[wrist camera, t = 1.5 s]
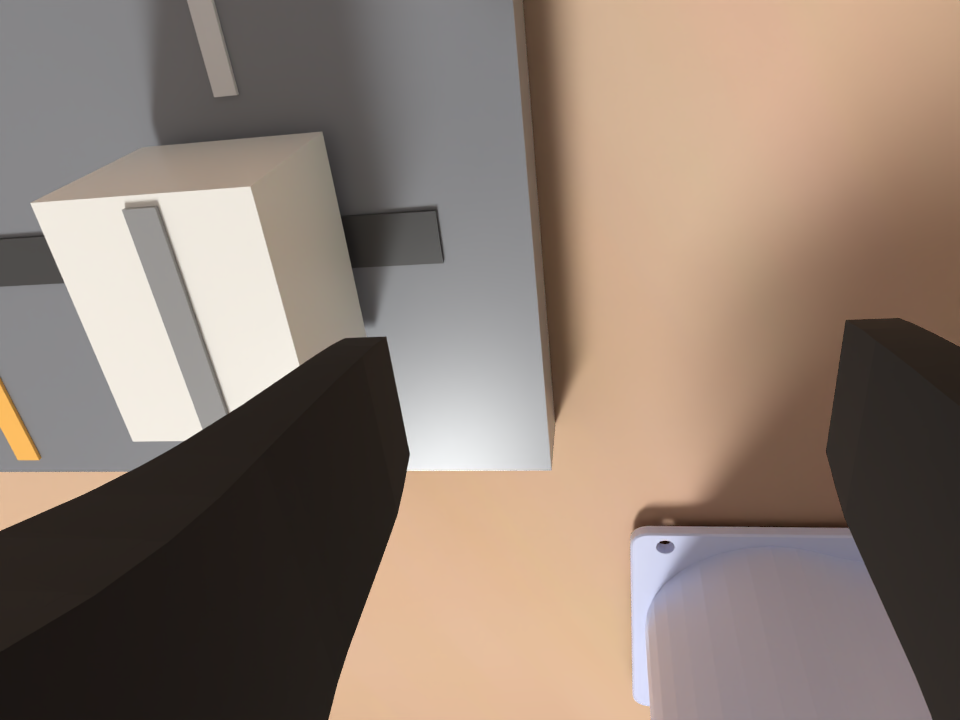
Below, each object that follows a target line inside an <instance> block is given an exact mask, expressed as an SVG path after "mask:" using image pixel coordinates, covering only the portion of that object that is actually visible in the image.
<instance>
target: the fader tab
mask: <svg viewBox="0 0 960 720" xmlns="http://www.w3.org/2000/svg"><path fill="white" fill-rule="evenodd" d="M30 204H31V206H32V208H33V211H34V213H35V215H36V218H37V220H38V222H39V225H40V227H41V229H42V232H43V234H44V236H45V239H46V241H47V243H48V246H49V248H50V250H51V252H52V255H53V257H54V259H55V262H56V264H57V266H58V269H59V271H60V273H61V276H62V278H63V280H64V283H65V285H66V287H67V290H68V292H69V294H70V297H71V299H72V301H73V304H74V306H75V308H76V311H77V313H78V315H79V318H80V320H81V322H82V325H83V327H84V329H85V331H86V334H87V336H88V338H89V341H90V343H91V345H92V348H93V350H94V352H95V355H96V357H97V359H98V362H99V364H100V366H101V369H102V371H103V373H104V376H105V378H106V380H107V383H108V385H109V387H110V390H111V392H112V394H113V397H114V399H115V401H116V404H117V406H118V408H119V410H120V413H121V415H122V417H123V420H124V422H125V424H126V427H127V429H128V431H129V434H130V436H131V438H132V441H133V442H144V441H185V440H187V439H188V438H190V437H191V436H193V435H195V434H196V433H198V432H199V431H201V430H203V429H204V428H206V427H207V426H209V425H211V424H212V423H214V422H215V421H217V420H219V419H220V418H222V417H223V416H225V415H227V414H228V413H230V412H232V411H233V410H235V409H236V408H238V407H240V406H241V405H243V404H244V403H246V402H247V401H249V400H250V399H251V398H253V397H254V396H256V395H257V394H259V393H260V392H262V391H263V390H265V389H266V388H268V387H269V386H271V385H272V384H274V383H275V382H276V381H278V380H279V379H281V378H282V377H284V376H285V375H287V374H288V373H290V372H291V371H293V370H294V369H296V368H297V367H298V366H300V365H301V364H303V363H304V362H306V361H307V360H309V359H310V358H312V357H313V356H315V355H316V354H318V353H319V352H321V351H323V350H324V349H326V348H327V347H329V346H331V345H332V344H334V343H336V342H338V341H340V340H342V339H344V338H358V337H367V336H366V332H365V327H364V322H363V318H362V313H361V308H360V304H359V299H358V295H357V290H356V285H355V281H354V276H353V271H352V267H351V262H350V257H349V253H348V248H347V244H346V239H345V234H344V230H343V225H342V220H341V216H340V211H339V207H338V202H337V197H336V193H335V188H334V183H333V179H332V174H331V170H330V165H329V160H328V156H327V151H326V146H325V142H324V137H323V132H311V133H300V134H288V135H277V136H265V137H254V138H242V139H231V140H220V141H208V142H197V143H185V144H174V145H162V146H151V147H142V148H140V149H138V150H136V151H134V152H132V153H130V154H128V155H126V156H124V157H122V158H120V159H118V160H116V161H114V162H112V163H110V164H108V165H106V166H104V167H102V168H100V169H98V170H96V171H94V172H92V173H90V174H88V175H86V176H84V177H82V178H80V179H78V180H75V181H73V182H71V183H69V184H67V185H65V186H63V187H61V188H59V189H57V190H55V191H53V192H51V193H49V194H47V195H45V196H43V197H41V198H39V199H37V200H35V201H33V202H31V203H30Z"/></svg>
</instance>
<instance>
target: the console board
mask: <svg viewBox="0 0 960 720" xmlns="http://www.w3.org/2000/svg"><path fill="white" fill-rule="evenodd" d="M311 132H323V137H324V142H325V146H326V151H327V156H328V160H329V165H330V170H331V174H332V179H333V183H334V188H335V193H336V197H337V202H338V207H339V211H340V216H341V220H342V225H343V230H344V234H345V239H346V244H347V248H348V253H349V257H350V262H351V267H352V271H353V276H354V281H355V285H356V290H357V295H358V299H359V304H360V308H361V313H362V318H363V322H364V327H365V332H366V336H367V337H387V342H388V347H389V352H390V357H391V362H392V367H393V372H394V377H395V382H396V387H397V392H398V397H399V402H400V407H401V412H402V417H403V422H404V427H405V432H406V437H407V442H408V447H409V452H410V457H409V462H408V467H407V471H530V470H552V458H553V446H554V434H555V415H554V402H553V389H552V375H551V362H550V349H549V336H548V323H547V310H546V297H545V283H544V270H543V257H542V244H541V231H540V218H539V204H538V191H537V178H536V165H535V152H534V139H533V125H532V112H531V99H530V86H529V73H528V60H527V46H526V33H525V20H524V7H523V0H0V472H129V471H131V470H133V469H135V468H137V467H139V466H141V465H143V464H145V463H147V462H148V461H150V460H152V459H154V458H156V457H158V456H159V455H161V454H163V453H165V452H166V451H168V450H170V449H172V448H173V447H175V446H177V445H179V444H180V443H182V442H183V441H144V442H133V441H132V438H131V436H130V434H129V431H128V429H127V427H126V424H125V422H124V420H123V417H122V415H121V413H120V410H119V408H118V406H117V404H116V401H115V399H114V397H113V394H112V392H111V390H110V387H109V385H108V383H107V380H106V378H105V376H104V373H103V371H102V369H101V366H100V364H99V362H98V359H97V357H96V355H95V352H94V350H93V348H92V345H91V343H90V341H89V338H88V336H87V334H86V331H85V329H84V327H83V325H82V322H81V320H80V318H79V315H78V313H77V311H76V308H75V306H74V304H73V301H72V299H71V297H70V294H69V292H68V290H67V287H66V285H65V283H64V280H63V278H62V276H61V273H60V271H59V269H58V266H57V264H56V262H55V259H54V257H53V255H52V252H51V250H50V248H49V246H48V243H47V241H46V239H45V236H44V234H43V232H42V229H41V227H40V225H39V222H38V220H37V218H36V215H35V213H34V211H33V208H32V206H31V204H30V203H31V202H33V201H35V200H37V199H39V198H41V197H43V196H45V195H47V194H49V193H51V192H53V191H55V190H57V189H59V188H61V187H63V186H65V185H67V184H69V183H71V182H73V181H75V180H78V179H80V178H82V177H84V176H86V175H88V174H90V173H92V172H94V171H96V170H98V169H100V168H102V167H104V166H106V165H108V164H110V163H112V162H114V161H116V160H118V159H120V158H122V157H124V156H126V155H128V154H130V153H132V152H134V151H136V150H138V149H140V148H142V147H151V146H162V145H174V144H185V143H197V142H208V141H220V140H231V139H242V138H254V137H265V136H277V135H288V134H300V133H311Z"/></svg>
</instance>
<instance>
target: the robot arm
mask: <svg viewBox="0 0 960 720" xmlns="http://www.w3.org/2000/svg"><path fill="white" fill-rule="evenodd" d="M826 453H827V457H828V461H829V465H830V468H831V472H832V476H833V480H834V483H835V487H836V491H837V494H838V497H839V501H840V504H841V508H842V511H843V514H844V518H845V520H846V522H847V525H848V527H849V528H803V527H706V526H643V527H639V528H637V529H635V530H634V531H633V532H632V533H631V537H630V564H631V627H632V689H633V698H634V700H635V701H636V702H638V703H639V704H642V705H645V706H650V716H651V720H960V347H959V346H957V345H955V344H953V343H951V342H949V341H947V340H945V339H943V338H942V337H940V336H938V335H936V334H934V333H932V332H930V331H928V330H925V329H923V328H921V327H919V326H917V325H915V324H912V323H910V322H907V321H905V320H902V319H900V318H891V319H863V320H846V322H845V329H844V336H843V342H842V349H841V356H840V362H839V369H838V375H837V382H836V389H835V395H834V402H833V409H832V415H831V422H830V429H829V435H828V442H827V448H826ZM409 457H410V452H409V447H408V442H407V437H406V432H405V427H404V422H403V417H402V412H401V407H400V402H399V397H398V392H397V387H396V382H395V377H394V372H393V367H392V362H391V357H390V352H389V347H388V342H387V337H358V338H344V339H342V340H340V341H338V342H336V343H334V344H332V345H331V346H329V347H327V348H326V349H324V350H323V351H321V352H319V353H318V354H316V355H315V356H313V357H312V358H310V359H309V360H307V361H306V362H304V363H303V364H301V365H300V366H298V367H297V368H296V369H294V370H293V371H291V372H290V373H288V374H287V375H285V376H284V377H282V378H281V379H279V380H278V381H276V382H275V383H274V384H272V385H271V386H269V387H268V388H266V389H265V390H263V391H262V392H260V393H259V394H257V395H256V396H254V397H253V398H251V399H250V400H249V401H247V402H246V403H244V404H243V405H241V406H240V407H238V408H236V409H235V410H233V411H232V412H230V413H228V414H227V415H225V416H223V417H222V418H220V419H219V420H217V421H215V422H214V423H212V424H211V425H209V426H207V427H206V428H204V429H203V430H201V431H199V432H198V433H196V434H195V435H193V436H191V437H190V438H188V439H187V440H185V441H183V442H182V443H180V444H179V445H177V446H175V447H173V448H172V449H170V450H168V451H166V452H165V453H163V454H161V455H159V456H158V457H156V458H154V459H152V460H150V461H148V462H147V463H145V464H143V465H141V466H139V467H137V468H135V469H133V470H131V471H130V472H128V473H126V474H124V475H122V476H120V477H118V478H116V479H114V480H112V481H110V482H108V483H106V484H104V485H102V486H100V487H98V488H96V489H94V490H92V491H90V492H88V493H86V494H84V495H81V496H79V497H77V498H75V499H72V500H70V501H68V502H65V503H63V504H61V505H59V506H56V507H54V508H52V509H49V510H47V511H45V512H43V513H40V514H38V515H36V516H34V517H31V518H29V519H27V520H24V521H22V522H20V523H18V524H15V525H13V526H11V527H8V528H6V529H4V530H2V531H0V720H328V719H329V715H330V711H331V707H332V703H333V699H334V695H335V691H336V687H337V683H338V680H339V677H340V674H341V671H342V668H343V665H344V661H345V658H346V655H347V652H348V649H349V647H350V644H351V641H352V638H353V636H354V633H355V630H356V628H357V625H358V622H359V619H360V617H361V614H362V611H363V608H364V606H365V603H366V600H367V598H368V595H369V592H370V589H371V587H372V584H373V581H374V579H375V576H376V573H377V571H378V568H379V565H380V562H381V560H382V557H383V554H384V551H385V548H386V546H387V543H388V540H389V537H390V534H391V532H392V529H393V526H394V523H395V520H396V517H397V514H398V510H399V505H400V501H401V497H402V492H403V488H404V483H405V477H406V472H407V467H408V462H409ZM665 540H666V541H670V543H668V544H661V543H659V542H660V541H665Z"/></svg>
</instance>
